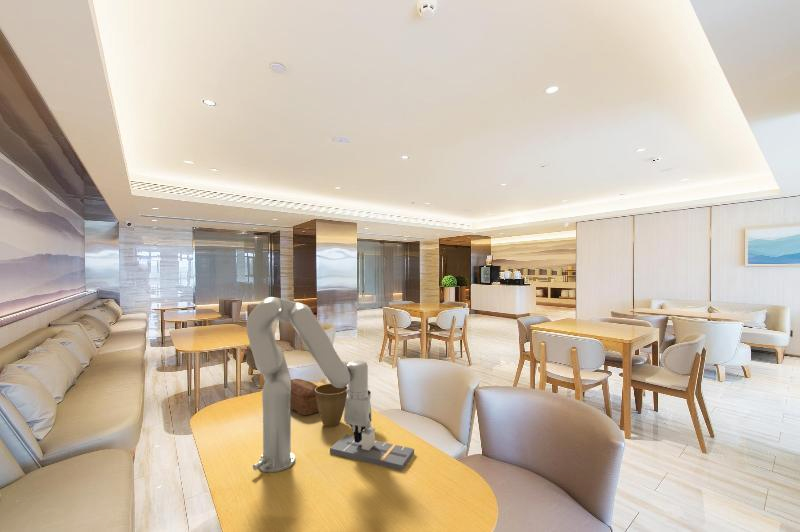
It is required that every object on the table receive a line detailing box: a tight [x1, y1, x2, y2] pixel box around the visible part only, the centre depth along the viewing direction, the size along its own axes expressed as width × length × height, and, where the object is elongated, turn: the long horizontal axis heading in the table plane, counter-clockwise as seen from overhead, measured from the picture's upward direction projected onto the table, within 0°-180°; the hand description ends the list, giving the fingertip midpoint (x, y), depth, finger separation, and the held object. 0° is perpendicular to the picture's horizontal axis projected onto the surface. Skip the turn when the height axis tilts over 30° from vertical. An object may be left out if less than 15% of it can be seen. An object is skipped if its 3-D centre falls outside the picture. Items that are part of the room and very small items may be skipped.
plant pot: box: [315, 383, 348, 428], centre depth 160 cm, size 15×15×16 cm
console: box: [329, 434, 415, 472], centre depth 134 cm, size 12×30×2 cm, turn 67°
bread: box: [291, 378, 319, 416], centre depth 179 cm, size 14×28×12 cm, turn 44°
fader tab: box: [362, 426, 376, 451], centre depth 134 cm, size 5×3×6 cm, turn 157°
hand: (358, 440), depth 136 cm, fingers closed
